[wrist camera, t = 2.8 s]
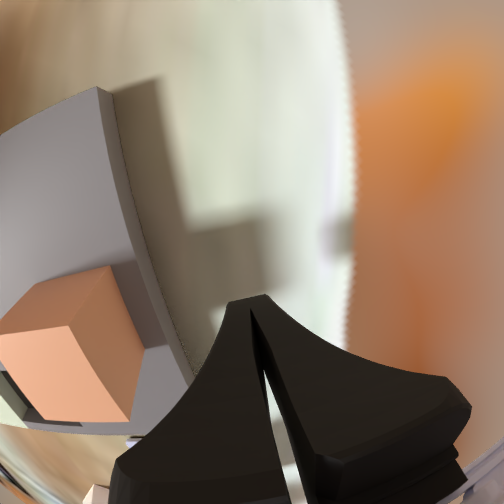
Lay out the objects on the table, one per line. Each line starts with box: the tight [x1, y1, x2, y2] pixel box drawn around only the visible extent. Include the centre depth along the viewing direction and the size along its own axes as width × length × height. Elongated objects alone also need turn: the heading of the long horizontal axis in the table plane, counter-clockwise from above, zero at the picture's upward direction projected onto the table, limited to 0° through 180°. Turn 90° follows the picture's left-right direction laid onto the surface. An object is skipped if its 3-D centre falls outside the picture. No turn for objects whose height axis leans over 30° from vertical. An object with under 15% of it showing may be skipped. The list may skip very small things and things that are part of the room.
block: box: [0, 265, 145, 422], centre depth 10 cm, size 4×4×4 cm
